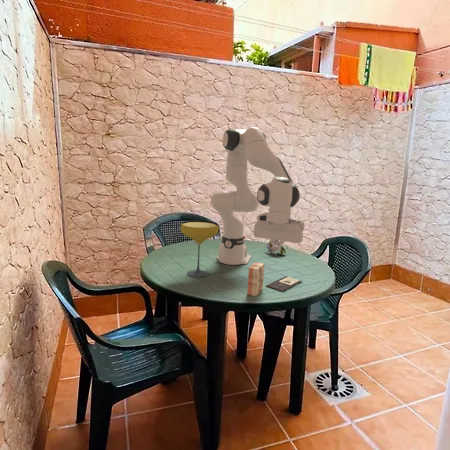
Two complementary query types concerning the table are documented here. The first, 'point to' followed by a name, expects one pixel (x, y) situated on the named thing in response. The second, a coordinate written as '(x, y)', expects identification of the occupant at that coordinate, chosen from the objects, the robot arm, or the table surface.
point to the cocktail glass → (199, 238)
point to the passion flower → (276, 245)
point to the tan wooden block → (255, 279)
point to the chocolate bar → (283, 283)
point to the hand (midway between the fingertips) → (276, 250)
